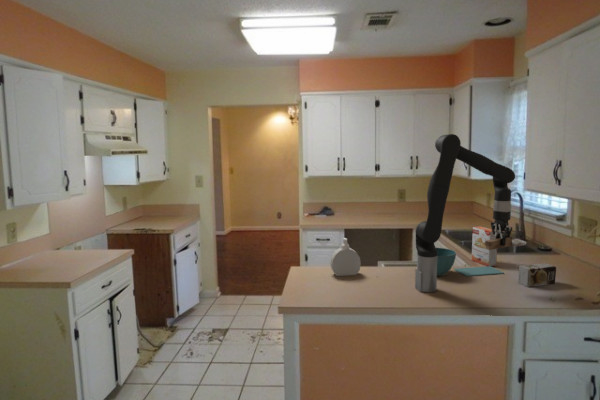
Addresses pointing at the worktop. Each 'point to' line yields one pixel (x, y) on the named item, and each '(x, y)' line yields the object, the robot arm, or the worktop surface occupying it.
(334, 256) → the soap bottle
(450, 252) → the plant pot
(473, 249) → the cracker box
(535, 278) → the coffee box
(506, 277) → the worktop surface
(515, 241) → the tall cardboard-brown block
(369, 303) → the worktop surface
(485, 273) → the mat
